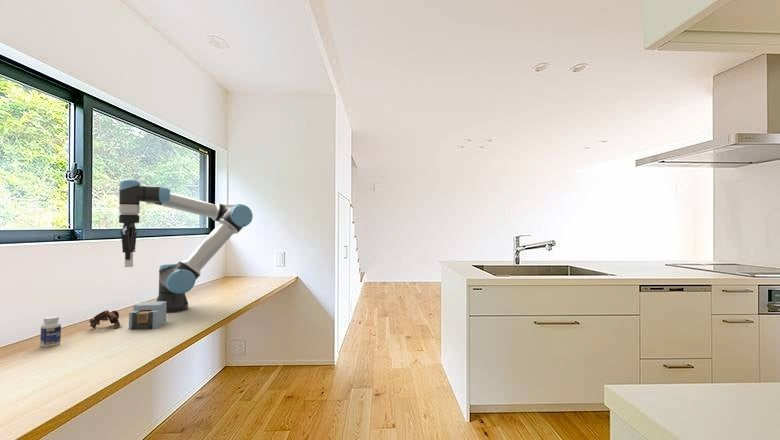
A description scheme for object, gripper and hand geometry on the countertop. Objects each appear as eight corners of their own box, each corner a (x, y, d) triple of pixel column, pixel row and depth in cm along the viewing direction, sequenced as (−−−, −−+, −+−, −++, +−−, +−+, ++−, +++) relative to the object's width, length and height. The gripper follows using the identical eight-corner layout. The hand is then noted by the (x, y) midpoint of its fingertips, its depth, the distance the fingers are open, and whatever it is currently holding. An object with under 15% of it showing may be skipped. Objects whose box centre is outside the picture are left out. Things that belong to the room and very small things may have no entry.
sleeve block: (141, 322, 166) (141, 301, 166) (166, 321, 168) (166, 301, 168) (128, 329, 153) (128, 307, 154) (155, 328, 156) (155, 307, 156)
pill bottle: (44, 348, 130) (45, 320, 130) (37, 345, 132) (37, 318, 132) (63, 343, 135) (64, 316, 135) (55, 341, 137) (56, 314, 137)
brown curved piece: (115, 331, 152) (102, 315, 150) (93, 341, 152) (80, 325, 150) (130, 317, 164) (119, 302, 161) (110, 326, 164) (98, 311, 161)
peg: (148, 316, 166) (148, 307, 166) (158, 316, 167) (158, 307, 167) (136, 323, 154) (136, 313, 154) (147, 323, 155) (147, 313, 155)
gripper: (125, 214, 173) (125, 265, 173) (113, 213, 161) (112, 268, 160) (144, 214, 175) (143, 264, 175) (133, 214, 163) (132, 268, 163)
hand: (128, 266), depth 168 cm, fingers closed
